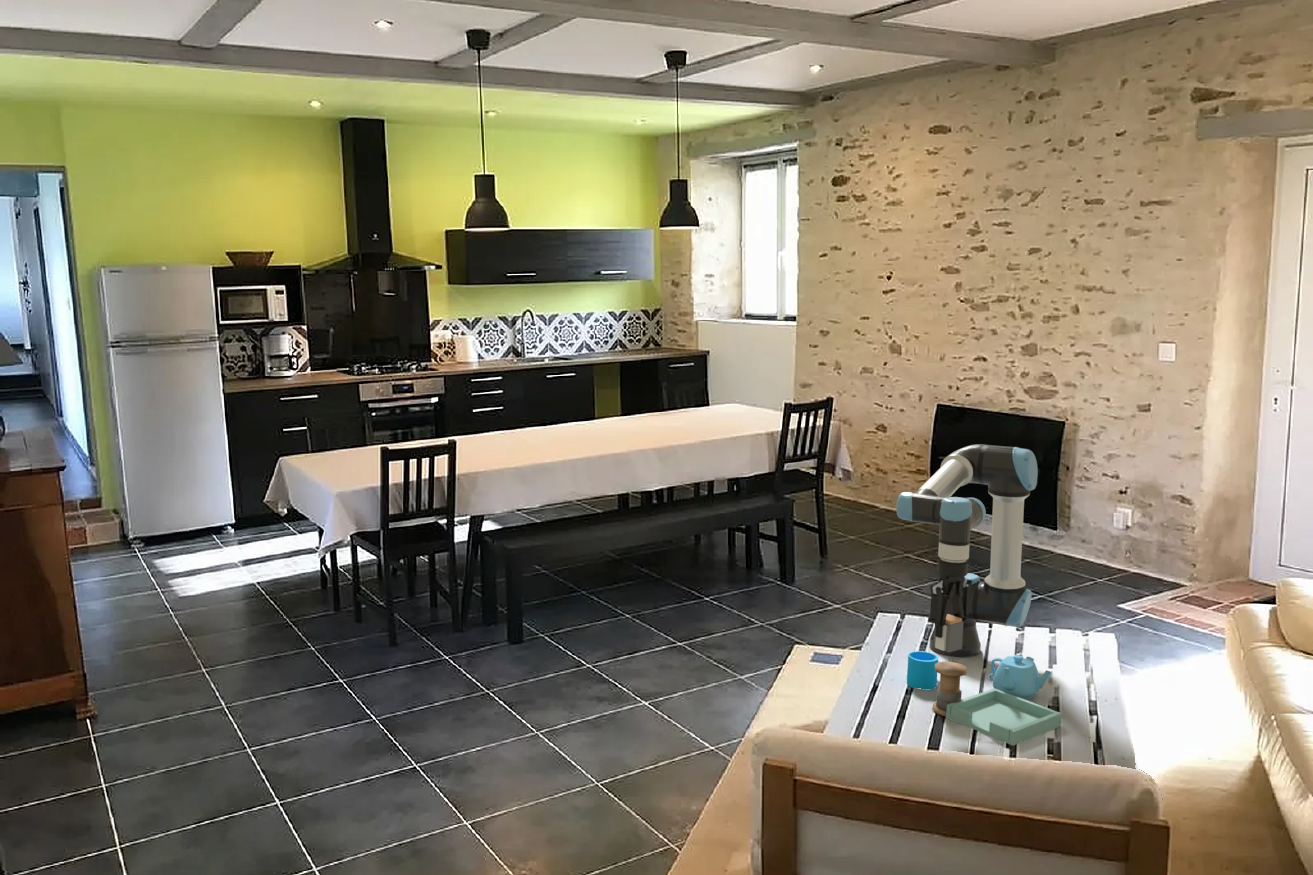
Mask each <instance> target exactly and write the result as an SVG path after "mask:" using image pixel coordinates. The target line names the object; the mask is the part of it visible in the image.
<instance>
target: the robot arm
mask: <svg viewBox="0 0 1313 875" xmlns="http://www.w3.org/2000/svg"><path fill="white" fill-rule="evenodd" d="M1038 470H1039V469H1038V462H1037V459H1036V455H1035V454H1034V452H1033V450H1030V449H1028V448H1021V447H1018V446H1006V445H1005V446H1003V445H992V444H991V445H990V444H982V443H981V444H970V445H967V446H964V447H962V448H959V449H957V450H955V451H953V452H951V453H950V454H948V455H947V456H946V457H944V459H943V460H942V461H941V464H940V468H939V469H938V470H936V471H935V473H934V474H933V475H931V477H930V478H929V479H927V481H926V482H924V483H923V484H922V485H921V486H920V487H919V488H918V489H917V490H916V491H915V492H912V491H907V492H906V491H904V492H901V493H900V494H899V495H898V498H897V500H896V506H895V508H896V515H897V517H898V519H900V520H904V521H908V522H911V523H912V522H915V523H923V524H930V525H937V526H939V532H938V552H937V553H938V554H937V556H938V558H937V564H936V572H937V573H938V574H939V579H938V580H937V581H938V582H937V584H935V585H934V584H931V586H930V588H929V589H930V593H931V596H930V598H931V599H930V609H929V622H930V623H931V624H934V628H935V636H936V641H935V647H933V646H934V628H933V630H932V632H931V635H930V637H929V648H930V650H933V651H934V652H936V653H939V654H942V655H946V656H951V657H961V658H962V657H963V658H964V657H965V658H967V657H974V656H977V655H979V654H980V653H981V649H982V648H981V647H982V646H981V641H980V638H979V632H978V629H977V621H980V622H985V623H991V624H996V625H999V626H1000V625H1001V626H1004V627H1013V628H1019V627H1021V626H1022V625H1023V624H1024V622H1025V621H1026V618H1027V616H1028V614H1029V610H1030V606H1031V602H1032V597H1033V596H1032V590H1030V589H1029V588H1026V581H1025V579H1024V578H1022V576H1021V571H1022V570H1021V569H1022V568H1021V567H1022V553H1023V550H1022V548H1023V531H1024V513H1025V512H1024V510H1025V509H1024V508H1025V499H1027V498H1028V497H1029V496H1030V495H1031V491H1033V490H1035V489H1036V487H1037V485H1038V475H1039V474H1038V473H1039V472H1038ZM968 484H980V485H986V486H988V487H987V492H988V494H989V495H990V496H991V497H992V515H991V516H992V518H991V519H992V520H991V521H992V522H991V540H990V541H991V544H990V566H989V567H990V571H989V574H988V575H987V576H986V577H985V578H984V580H983V581H980V580H981V578H980V576H979V575H978V574H975V573H971V572H968V571H969V559H970V543H971V542H970V541H971V540H970V538H971V530H972V529H974V528H976V527H978V526H980V525H981V523H982V522H983V521H984V520H985V517H986V515H987V513H986V512H987V511H986V508H985V505H984V504H983V502H982V501H981V500H980V499H978V498H975V497H961V496H960V497H958V496H953V494H955V493H956V491H957V490H958V489H959V488H960V487H963V486H965V485H968ZM947 614H950V615H953V616H956V617H959V618H962V621H963V622H964V623H963V639H962V649H959V650H956V651H952V652H946V651H945V648H946V631H947V626H946V625H945V621H946V616H947ZM935 625H936V627H935Z"/></svg>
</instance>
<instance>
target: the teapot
mask: <svg viewBox="0 0 1313 875" xmlns="http://www.w3.org/2000/svg"><path fill="white" fill-rule="evenodd" d="M1034 661H1035V659H1034V657H1031V656H1026V658H1024V656H1022V655H1019V654H1015V655H1011V656H1006V657H1004V658H1000V657H994V658H993V659H991V661H990V669H991V672H992V673H990V674H988V679H989V681H991V682H992V687H993V688H995V689H998V690H1001V691H1003V692H1006V693H1009V694H1011V695H1014V696H1017V697H1019V698H1022V699H1025V700H1028V699H1032V698H1034V697H1035V696H1036V695H1037V693H1038V692H1039V691H1040V690H1041V689H1043V686H1044V685H1045V683H1046V682H1047V681H1048V679H1049V677H1050V676H1051V675H1052V671H1049V670H1047V669H1046V670H1045V671H1044V672H1043V673H1042V674H1041V675H1040V673H1039V671H1038V668H1037V666H1036V665H1037V664H1036V662H1034ZM995 662H999V664H998V666H997V668H995ZM992 676H993V677H992ZM1033 696H1034V697H1033Z"/></svg>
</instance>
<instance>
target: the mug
mask: <svg viewBox="0 0 1313 875" xmlns="http://www.w3.org/2000/svg"><path fill="white" fill-rule="evenodd" d="M938 662H939V656H937V655H936V654H934V653H931V652H928V651H912V652H908V655H907V672H906V673H907V674H906V685H907V686H908V687H910V688H913V689H915V688H921V689H931V690H934V689H936V688H937V687H938V686H937V684H938V682H937V681H938V672H936V671H935V664H936V663H938ZM935 687H936V688H935ZM921 689H920V690H921Z"/></svg>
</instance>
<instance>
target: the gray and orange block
mask: <svg viewBox="0 0 1313 875" xmlns="http://www.w3.org/2000/svg"><path fill="white" fill-rule="evenodd" d="M963 623H964V622H963V621H962V618H959V617H956V616H953V615H950V614H947V616H946V621H945V625H946V626H947V631H946V648H945V651H946V652H952V651H956V650H959V649H962V639H963ZM934 627H936V625H935V624H934ZM933 630H934V646H933V647H935V641H936V636H935V628H933Z"/></svg>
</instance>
